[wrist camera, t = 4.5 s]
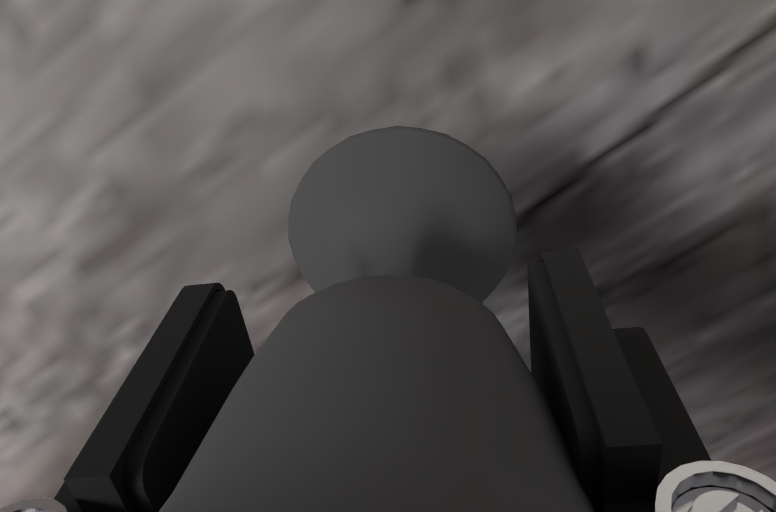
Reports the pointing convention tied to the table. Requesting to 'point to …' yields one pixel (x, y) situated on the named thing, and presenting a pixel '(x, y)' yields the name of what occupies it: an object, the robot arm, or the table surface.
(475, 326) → the sundae
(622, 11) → the table surface
